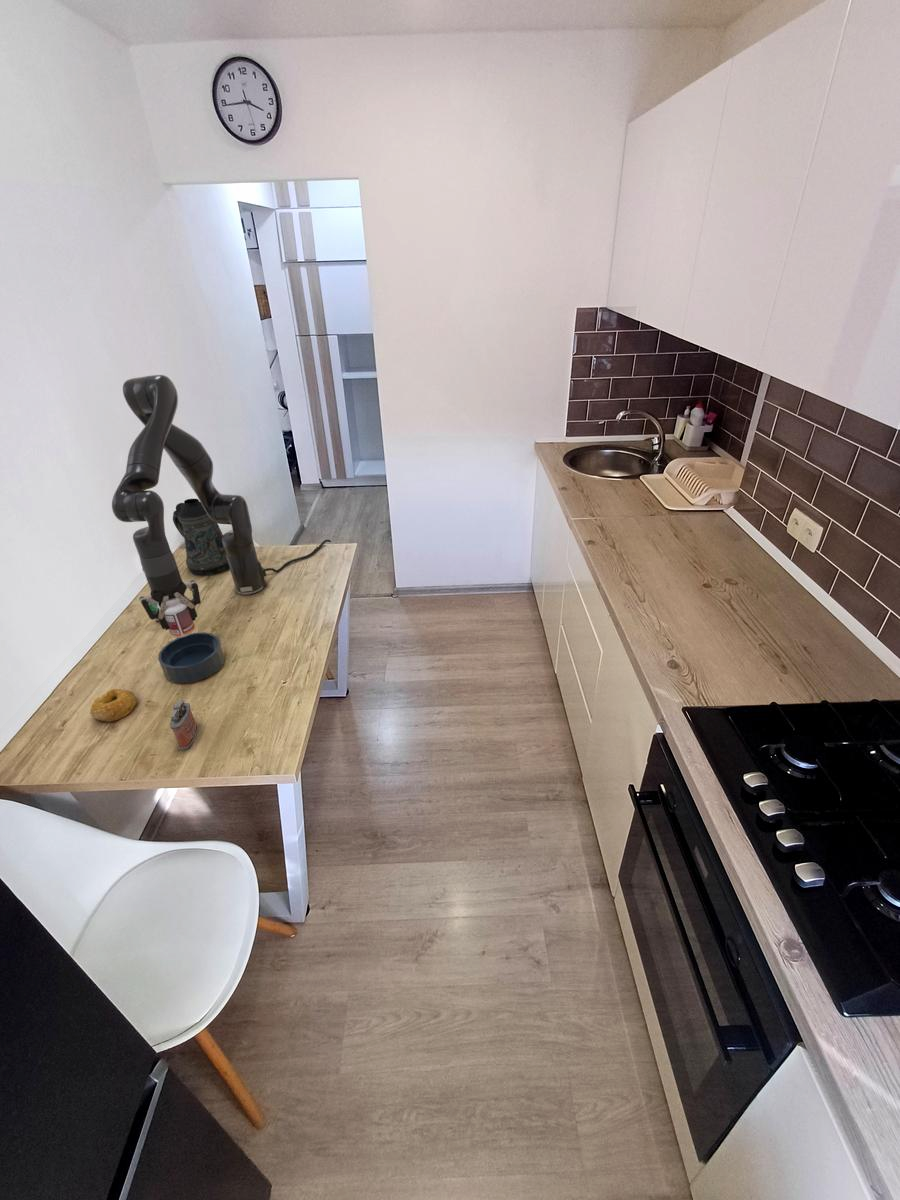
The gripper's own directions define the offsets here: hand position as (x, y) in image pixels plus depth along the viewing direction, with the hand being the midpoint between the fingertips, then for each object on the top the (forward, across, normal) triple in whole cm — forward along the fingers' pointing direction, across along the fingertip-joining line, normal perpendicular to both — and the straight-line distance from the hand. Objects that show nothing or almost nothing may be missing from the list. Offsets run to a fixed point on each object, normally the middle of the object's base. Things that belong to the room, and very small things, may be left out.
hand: (180, 623), depth 150 cm
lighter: (+15, -9, -27) cm, 32 cm away
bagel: (+15, -21, -5) cm, 26 cm away
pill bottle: (+3, 0, 0) cm, 3 cm away
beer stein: (+15, +21, +58) cm, 63 cm away
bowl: (+14, 0, 0) cm, 14 cm away
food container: (+15, +2, +32) cm, 35 cm away
